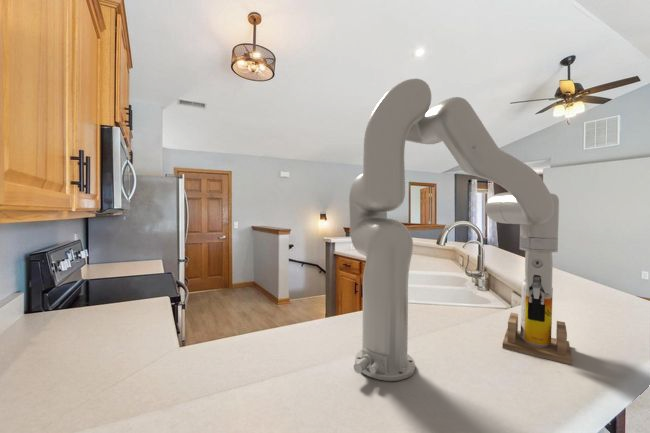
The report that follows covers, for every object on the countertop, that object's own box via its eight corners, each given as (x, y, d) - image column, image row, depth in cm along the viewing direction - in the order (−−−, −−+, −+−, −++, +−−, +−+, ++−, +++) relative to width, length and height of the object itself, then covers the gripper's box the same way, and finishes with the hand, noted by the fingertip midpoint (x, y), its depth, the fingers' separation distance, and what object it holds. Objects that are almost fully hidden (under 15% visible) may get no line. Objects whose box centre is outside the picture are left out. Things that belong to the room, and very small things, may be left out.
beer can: (556, 349, 69) (558, 285, 68) (527, 346, 70) (529, 284, 69) (542, 338, 75) (544, 279, 74) (516, 335, 76) (517, 277, 75)
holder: (572, 365, 64) (572, 336, 64) (502, 348, 72) (502, 322, 72) (568, 346, 73) (569, 321, 73) (507, 332, 81) (507, 310, 81)
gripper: (559, 249, 63) (557, 329, 63) (556, 242, 76) (555, 307, 77) (517, 246, 67) (515, 321, 68) (521, 240, 81) (520, 302, 81)
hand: (536, 314), depth 72 cm, fingers open, 9 cm apart
